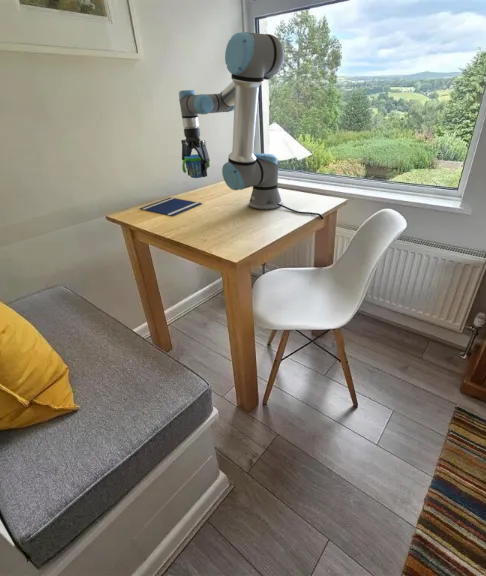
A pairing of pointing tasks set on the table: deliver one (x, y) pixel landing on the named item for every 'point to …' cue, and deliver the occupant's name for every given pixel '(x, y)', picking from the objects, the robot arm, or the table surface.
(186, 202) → the towel
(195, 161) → the snack cup
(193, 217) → the table surface
